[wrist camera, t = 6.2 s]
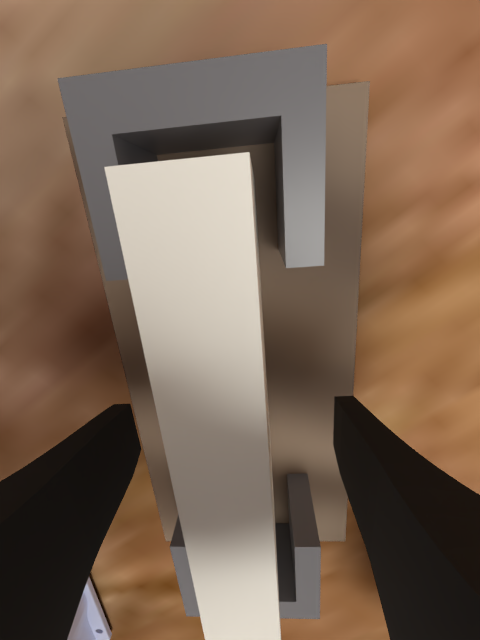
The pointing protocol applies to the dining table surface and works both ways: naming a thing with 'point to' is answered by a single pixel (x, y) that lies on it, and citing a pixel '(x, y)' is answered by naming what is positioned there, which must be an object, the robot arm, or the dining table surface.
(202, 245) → the slat
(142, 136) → the end caps
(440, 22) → the dining table surface
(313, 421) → the base board
